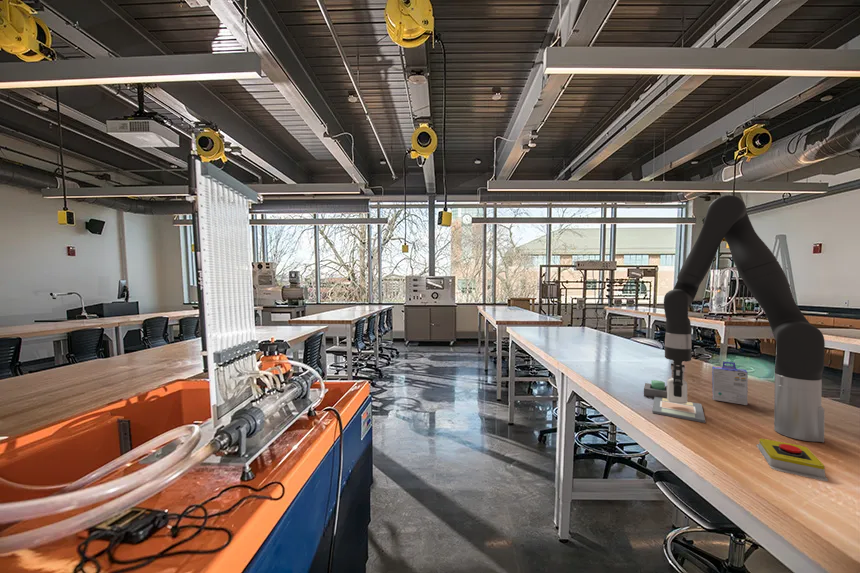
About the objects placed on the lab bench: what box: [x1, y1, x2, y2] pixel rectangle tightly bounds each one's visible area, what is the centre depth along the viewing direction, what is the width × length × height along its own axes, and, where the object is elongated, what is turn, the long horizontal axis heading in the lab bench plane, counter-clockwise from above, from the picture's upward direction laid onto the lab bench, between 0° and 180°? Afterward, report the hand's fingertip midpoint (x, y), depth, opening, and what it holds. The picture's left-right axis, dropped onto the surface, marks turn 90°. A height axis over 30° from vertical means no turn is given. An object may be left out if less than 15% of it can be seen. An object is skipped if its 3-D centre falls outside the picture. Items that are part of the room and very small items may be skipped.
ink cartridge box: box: [711, 361, 749, 406], centre depth 125 cm, size 10×6×14 cm, turn 53°
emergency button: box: [756, 438, 829, 482], centre depth 83 cm, size 9×4×15 cm
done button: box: [650, 379, 666, 390], centre depth 132 cm, size 4×4×3 cm
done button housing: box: [643, 382, 667, 399], centre depth 132 cm, size 9×9×3 cm
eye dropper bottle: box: [666, 377, 688, 404], centre depth 117 cm, size 4×6×12 cm
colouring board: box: [651, 396, 706, 424], centre depth 117 cm, size 14×18×1 cm
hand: (677, 394), depth 117 cm, fingers closed on eye dropper bottle, 3 cm apart
